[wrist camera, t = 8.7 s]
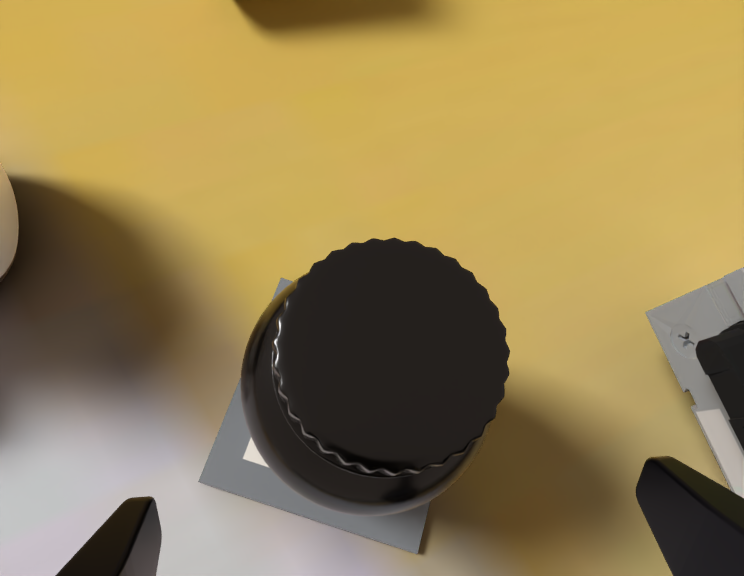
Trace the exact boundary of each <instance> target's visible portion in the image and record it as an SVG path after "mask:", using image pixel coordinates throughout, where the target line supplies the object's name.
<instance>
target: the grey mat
mask: <svg viewBox="0 0 744 576" xmlns="http://www.w3.org/2000/svg"><path fill="white" fill-rule="evenodd" d="M291 283H292V281H289V280H286V279H283V278H281V279H280V282H279V284H278V287H277V289H276V292H275V294H274V297H273V299H272V301H273V300H274V298H275V297H276V296H277V295H278V294H279V293H280V292H281V291H282V290H284V289H285V288H286V287H287V286H288V285H290V284H291ZM198 482H200V483H203V484H206V485H209V486H212V487H215V488H218V489H221V490H224V491H227V492H230V493H233V494H236V495H239V496H242V497H245V498H248V499H251V500H255V501H258V502H261V503H264V504H267V505H270V506H273V507H276V508H279V509H282V510H285V511H288V512H291V513H294V514H297V515H300V516H303V517H306V518H309V519H312V520H315V521H318V522H321V523H324V524H327V525H330V526H333V527H336V528H339V529H342V530H345V531H348V532H351V533H354V534H357V535H361V536H364V537H367V538H370V539H373V540H376V541H379V542H382V543H385V544H388V545H391V546H394V547H397V548H400V549H403V550H406V551H409V552H412V553H415V554H417V553H418V549H419V545H420V541H421V537H422V533H423V529H424V525H425V521H426V517H427V513H428V508H429V504H430V501H428V502H426V503H425V504H423V505H420V506H418V507H415V508H413V509H410V510H407V511H404V512H400V513H396V514H390V515H384V516H356V515H350V514H344V513H339V512H336V511H332V510H329V509H326V508H324V507H321V506H319V505H316V504H314V503H312V502H310V501H308V500H307V499H305V498H303V497H302V496H300V495H299V494H297V493H296V492H294V491H293V490H291V489H290V488H289V487H288V486H287V485H285V484H284V483H283V482H282V481H281V480H280V479H279V478H278V477H277V476H276V475H275V474H274V473H273V472H272V470H271V469H270V468H269V466H268V465H267V464H266V463H265V461H264V460H263V458H262V456H261V455H260V453H259V452H258V450H257V448H256V446H255V444H254V442H253V440H252V438H251V435H250V432H249V430H248V427H247V424H246V420H245V417H244V413H243V407H242V400H241V378H240V380H239V383H238V385H237V388H236V390H235V393H234V395H233V398H232V400H231V403H230V405H229V407H228V410H227V412H226V415H225V417H224V420H223V422H222V425H221V427H220V430H219V432H218V435H217V437H216V440H215V442H214V444H213V447H212V449H211V452H210V454H209V457H208V459H207V462H206V464H205V467H204V469H203V472H202V474H201V476H200V479H199V481H198Z"/></svg>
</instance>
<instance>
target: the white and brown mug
mask: <svg viewBox="0 0 744 576" xmlns="http://www.w3.org/2000/svg"><path fill="white" fill-rule="evenodd" d="M18 232H19V223H18V210H17V204H16V199H15V196H14V192H13V189H12V186H11V183H10V181H9V179H8V177H7V174H6V172H5V170H4V168H3V166H2V164H1V162H0V282H1V281H2V279H3V278H4V277H5V276H6V275H7V273H8V271H9V270H10V268H11V266H12V264H13V261H14V259H15V255H16V251H17V245H18Z"/></svg>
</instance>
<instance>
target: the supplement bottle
mask: <svg viewBox="0 0 744 576" xmlns="http://www.w3.org/2000/svg"><path fill="white" fill-rule="evenodd" d="M505 337H506V328H505V327H504V325H503V323H502V322H501V321H500V319H499V311H498V308H497V307H496V305H495V304H494V303H493V302H492V301H491V300H490V298H489V294H488V292H487V289H486V288H484V287H483V286H482V285H480V284H479V283H477V281H476V279H475V277H474V275H473V273H472V272H470V271H468V270H466V269H464V268H462V267H461V266H460V264H459V263H458V261H457V260H456V259H454V258H451V257H448V256H444V255H443V254H442V253H441V252H440V251H439V250H438V249H437V248H432V247H425V246H423V245H422V244H420V243H418V242H417V241H409V242H404V241H401V240H399V239H397V238H391V239H388V240H385V241H383V240H379V239H374V238H373V239H370V240H368V241H366V242H364V243H351V244H349V245H348V246H347V247H346V248H344V249H342V250H335V251H332V252H331V253H330V254H329V255H328V256H327V257H326V259H325V260H322V261H318V262H316V263H314V264H313V266H312V267H311V269H310V271H309V272H308V273H306V274H304V275H303V276H301V277H299V278H298V279H296V280H295V281H294V282H292V283H291V284H290V285H288V286H287V287H286V288H285V289H284V290H282V291H281V292H280V293H279V294H278V295H277V296H276V297H275V298H274V300H273V301H272V302H271V303H270V304H269V305H268V307H267V308H266V309H265V311H264V312H263V313H262V315H261V317H260V318H259V320H258V322H257V323H256V325H255V327H254V329H253V331H252V333H251V335H250V338H249V341H248V344H247V347H246V350H245V354H244V358H243V364H242V370H241V400H242V407H243V413H244V417H245V420H246V424H247V427H248V430H249V432H250V435H251V438H252V440H253V442H254V444H255V446H256V448H257V450H258V452H259V453H260V455H261V456H262V458H263V460H264V461H265V463H266V464H267V465H268V466H269V468H270V469H271V470H272V472H273V473H274V474H275V475H276V476H277V477H278V478H279V479H280V480H281V481H282V482H283V483H284V484H285V485H287V486H288V487H289V488H290V489H291V490H293V491H294V492H296V493H297V494H299V495H300V496H302V497H303V498H305V499H307V500H308V501H310V502H312V503H314V504H316V505H319V506H321V507H324V508H326V509H329V510H332V511H336V512H339V513H344V514H350V515H356V516H384V515H390V514H396V513H400V512H404V511H407V510H410V509H413V508H415V507H418V506H420V505H423V504H425V503H426V502H428V501H430V500H432V499H434V498H435V497H437V496H438V495H440V494H441V493H443V492H444V491H446V490H447V489H448V488H449V487H450V486H452V485H453V484H454V483H455V482H456V481H457V480H458V479H459V478H460V477H461V476H462V475H463V474H464V472H465V471H466V470H467V469H468V467H469V466H470V465H471V464H472V462H473V460H474V459H475V457H476V456H477V454H478V453H479V451H480V449H481V447H482V445H483V443H484V441H485V438H486V435H487V433H488V430H489V427H490V423H491V421H492V420H493V419H494V418H495V416H496V408H497V405H498V404H499V403H500V402H501V400H502V399H503V398H504V392H505V390H504V383H505V382H506V380H507V378H508V376H509V369H508V366H507V360H508V357H509V354H510V350H509V347H508V345H507V343H506V341H505Z"/></svg>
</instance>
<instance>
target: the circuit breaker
mask: <svg viewBox="0 0 744 576" xmlns="http://www.w3.org/2000/svg"><path fill="white" fill-rule="evenodd" d="M645 313H646V315H647V317H648V320H649V322H650V324H651V326H652V328H653V330H654V332H655V334H656V336H657V338H658V340H659V342H660V344H661V347H662V349H663V351H664V353H665V355H666V357H667V359H668V361H669V363H670V365H671V367H672V369H673V372H674V374H675V376H676V378H677V380H678V382H679V384H680V386H681V388H682V390H683V392H687V391H690V393H691V395H692V397H693V399H694V401H695V403H696V404H695V405H693V406H691V409H692V411H693V413H694V415H695V417H696V419H697V421H698V423H699V425H700V427H701V429H702V431H703V434H704V436H705V438H706V440H707V442H708V444H709V446H710V448H711V450H712V452H713V454H714V456H715V458H716V460H717V462H718V464H719V467H720V469H721V471H722V473H723V475H724V477H725V479H726V481H727V483H728V485H729V487H730V489H731V491H732V492H734V493H736V494H737V495H739V496H741V497H743V498H744V268H741V269H738V270H736V271H734V272H732V273H730V274H727V275H725V276H724V277H723V278H721V279H719V280H717V281H714V282H712V283H710V284H708V285H706V286H703V287H701V288H699V289H696V290H694V291H692V292H690V293H687V294H685V295H683V296H681V297H678V298H676V299H674V300H672V301H669V302H667V303H665V304H663V305H660V306H658V307H656V308H654V309H652V310H649V311H647V312H645Z"/></svg>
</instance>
